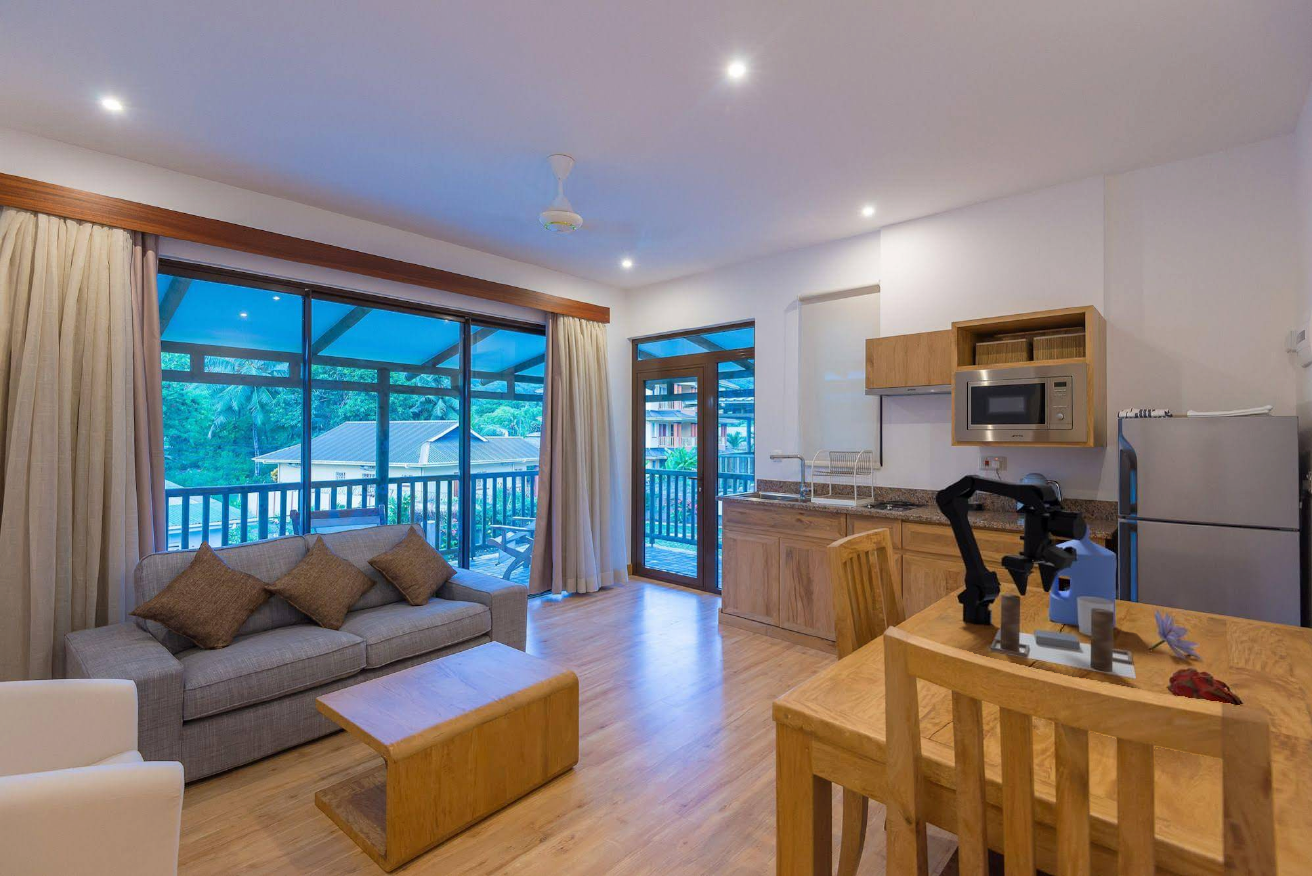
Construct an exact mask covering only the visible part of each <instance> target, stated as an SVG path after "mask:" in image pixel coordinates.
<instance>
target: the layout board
mask: <svg viewBox="0 0 1312 876" xmlns="http://www.w3.org/2000/svg"><path fill="white" fill-rule="evenodd" d="M1000 643H1001V628H998V630H997V633H996V634H995V636H994V638H993V641H992V642H991V645H990V647H989V652H990V651H991V652H994V653H995V652H996V653H999V654H1006V655H1011V656H1017V657H1021V658H1026V659H1031V660H1032V659H1033V660H1037V661H1043V662H1047V663H1052V664H1058V665H1062V666H1068V667H1071V668H1072V667H1073V668H1078V669H1081V670H1082V669H1083V670H1087V671H1094V672H1097V673H1098V672H1099V673H1104V674H1109V675H1114V676H1120V677H1124V678H1130V679H1135V680H1136V678H1137V677H1136V673H1135V672H1136V670H1135V667H1134V663H1133V662H1134V661H1133V656H1132V652H1131V651H1128V650H1123V649H1117V648H1113V668H1112V672H1103V671H1098V670H1095V669H1093V668H1091V667H1090V661H1091V644H1088V643H1082V642H1080V650H1075V649H1069V648H1062V647H1055V646H1048V645H1041V644H1036V642H1035V639H1034V634H1030V633H1024V632H1020V642H1019V652H1016V651H1011V650H1005V649H1001V648H1000Z"/></svg>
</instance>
